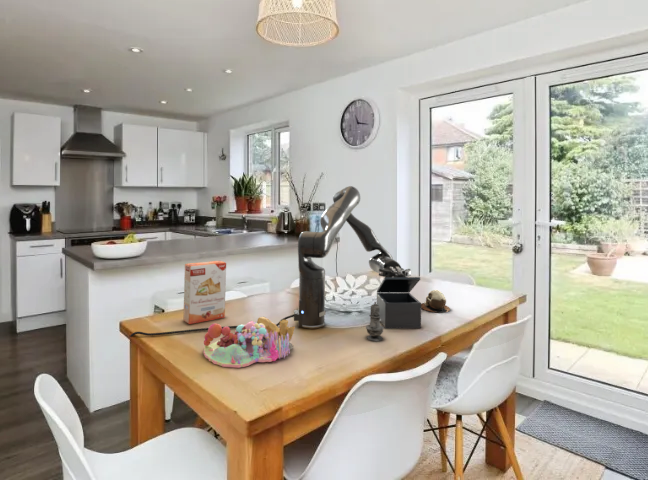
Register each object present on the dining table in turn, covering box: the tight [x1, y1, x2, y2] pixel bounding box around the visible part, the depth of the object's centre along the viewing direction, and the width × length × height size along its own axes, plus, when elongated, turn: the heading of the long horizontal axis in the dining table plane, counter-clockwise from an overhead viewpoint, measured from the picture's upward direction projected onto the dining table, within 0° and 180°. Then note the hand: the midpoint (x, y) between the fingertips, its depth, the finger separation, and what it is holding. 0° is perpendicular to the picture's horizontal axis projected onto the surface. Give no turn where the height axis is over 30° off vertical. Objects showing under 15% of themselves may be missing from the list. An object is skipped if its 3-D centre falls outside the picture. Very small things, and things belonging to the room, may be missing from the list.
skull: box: [421, 289, 451, 314], centre depth 170 cm, size 12×10×10 cm
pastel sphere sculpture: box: [203, 316, 296, 369], centre depth 122 cm, size 25×24×9 cm
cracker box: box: [182, 260, 227, 325], centre depth 151 cm, size 14×6×21 cm, turn 129°
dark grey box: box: [376, 292, 422, 329], centre depth 152 cm, size 15×13×9 cm
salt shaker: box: [365, 301, 385, 342], centre depth 134 cm, size 6×6×12 cm
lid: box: [376, 276, 421, 294], centre depth 152 cm, size 16×13×1 cm
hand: (400, 277), depth 148 cm, fingers closed
